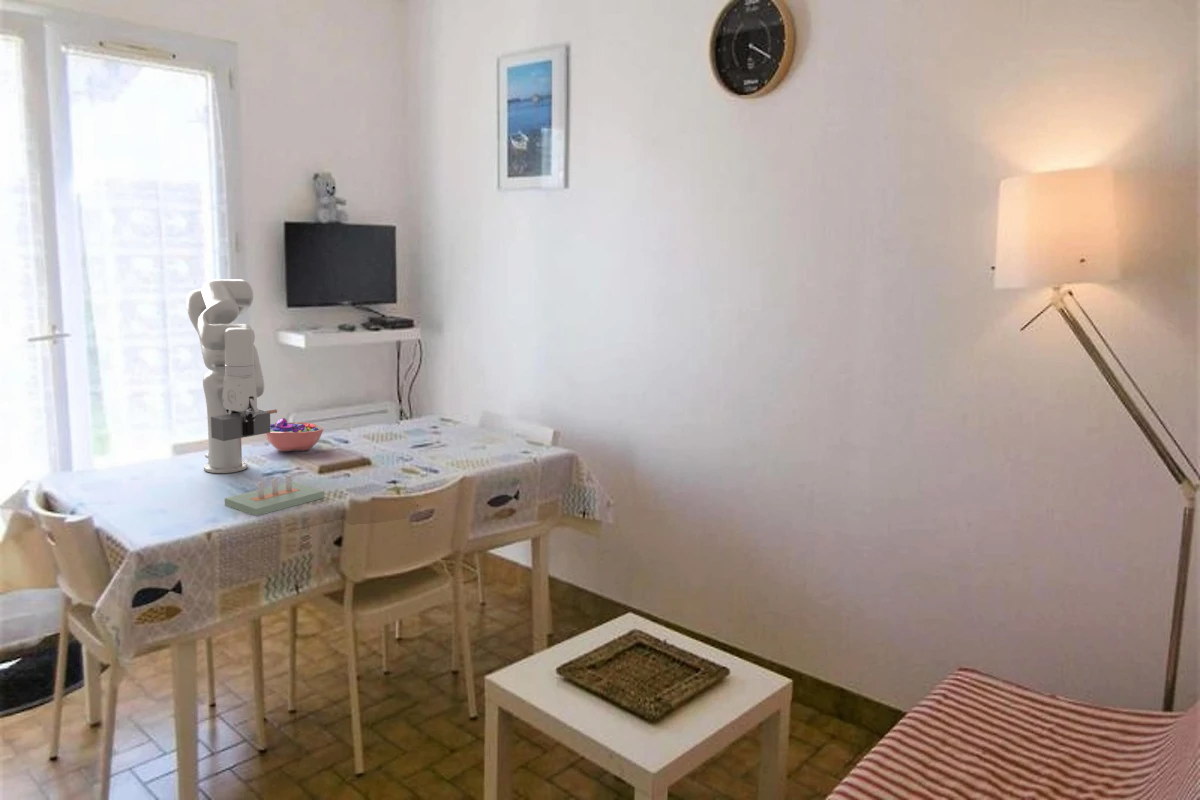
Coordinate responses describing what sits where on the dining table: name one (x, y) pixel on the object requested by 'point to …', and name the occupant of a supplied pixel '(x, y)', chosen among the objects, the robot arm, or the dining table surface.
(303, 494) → the header board
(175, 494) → the dining table surface
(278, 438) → the cell model
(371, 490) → the dining table surface
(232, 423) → the block
